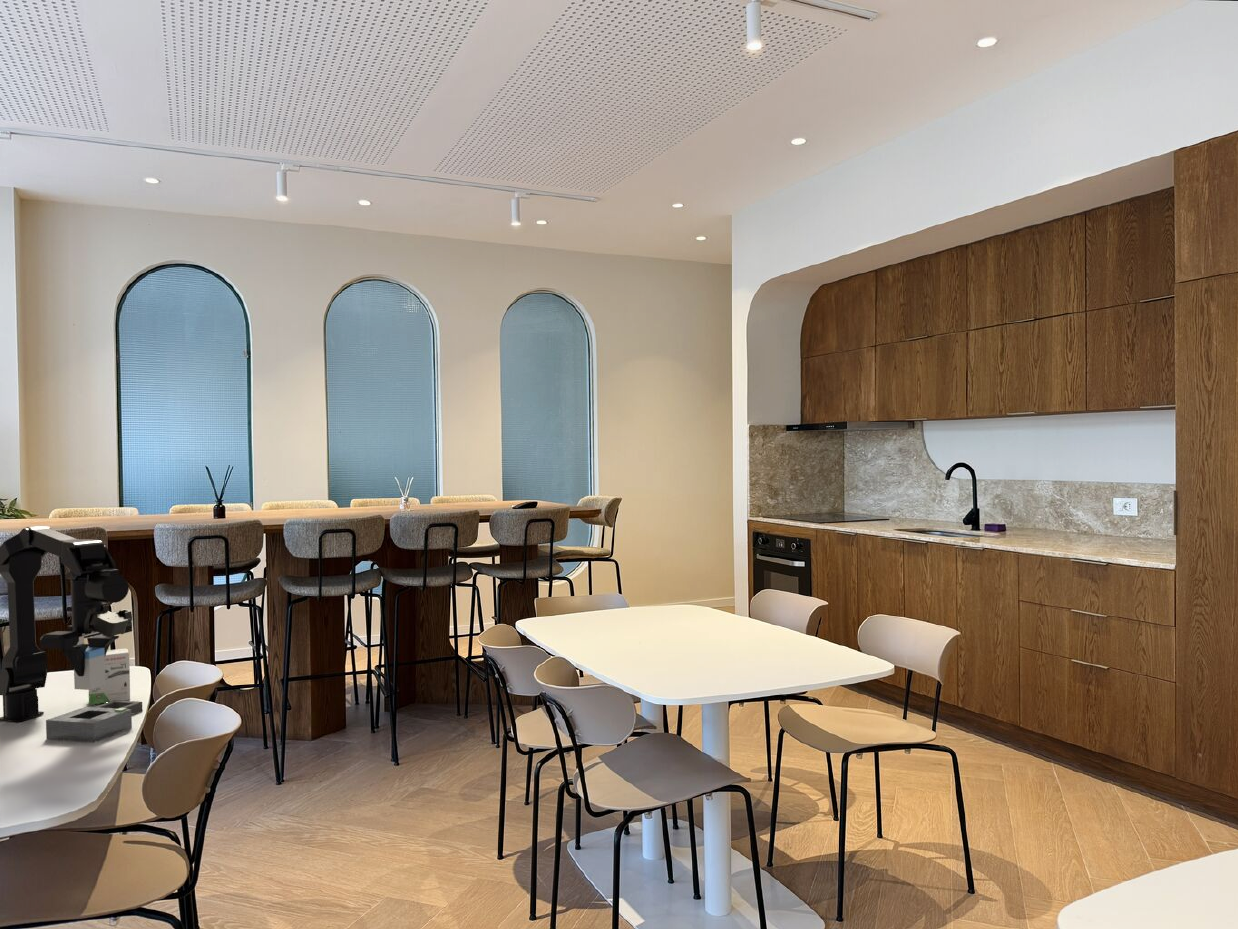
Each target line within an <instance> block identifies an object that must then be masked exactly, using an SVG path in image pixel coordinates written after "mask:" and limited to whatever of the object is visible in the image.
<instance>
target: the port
mask: <svg viewBox="0 0 1238 929" xmlns="http://www.w3.org/2000/svg"><path fill="white" fill-rule="evenodd" d="M132 715H133V714H131V709H127V708H119V709H117V708H99V707H96V706H84V707H81V708H77V709H75V710H72V711H68V712H66V713H64V714H60V715H58V716H54V717H52V718H48V719H46V720H45V730H46V733H45V734H46V740H51V741H66V742H67V741H68V742H77V743H78V742H80V743H92V744H93V743H96V742H99V741H103V740H104V739H106V738H109V737H112V736H115V735H116V734H117V735H118V734H120V733H122V732H125V731H127V730H130V729H132V728H133V722H132Z"/></svg>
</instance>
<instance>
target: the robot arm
mask: <svg viewBox="0 0 1238 929" xmlns="http://www.w3.org/2000/svg"><path fill="white" fill-rule="evenodd" d="M48 553H49V554H51V555H54V556H57V557H59V558H60V564H63V566H65V567H67V569H69V570H70V571H69V572H67V573H66V575H65V577H64V578H65V579H67V580H70V600H71V602H70V605H68V606H66V612H70V613H71V625H67V627H66V629H67V630H63V631H62V630H60V631H59V630H58V631H57V630H56V631H52V632H48V633H45V634H43V635H42V636H40V639H39V644H40V646H38V645H37V634H36V632H37V631H36V616H35V615H36V614H35V590H34V581H35V579H36V578H37V576H38V574H39V573H40V571H41V569H42V562H43V558H44V557H45V556H46V555H47V554H48ZM0 576H1V577H2V578H3V580H4V581H5V582H6V584H7V604H8V605H7V606H8V609H7V610H8V623H9V624H8V627H9V628H8V632H9V648H8V649H7V652H6V653H5V654H4V656H3V657H2V660H1V670H0V696H2V710H3V712H2V716H0V722H13V723H14V722H15V723H21V722H24V721H26V720H30V719H32V718H36V717H39V716H42V715H44V714H45V712H44V711H39V696H38V689H41V688H45V686H46V683H47V682H46V681H47V677H48V671H49V667H48V663H47V659H48V658H47V657H48V654H47V653H46V651H42V650H41V649H50V650H51V649H52V650H53V649H54V650H60V651H61V653H62V654H63V655H64V656H65V657H66V659H67V661H68V662H69V663H70V665H71V667H72V669H73V671H74V670H75V672H76V673H77V675H78V676H84V670H85V650H86V649H87V648H88V647H100V648H104V651H105V656H106V653H107V650H109V647H110V645H111V644H112V643H114V642H115V641H116V640H117V639H119V638H120V635H124V634H126V633H127V634H128V633H131V632H133V623H132V621H133V614H132V610H130V609H128V608H125V609H121V610H119V611H118V612H117V611H115V612H112V611H110V608H109V607H110V606H109V604H108V603H110V604H111V603H114V604H115V603H119V602H121V601H123V600H124V599H125V598H126V597H127V595H128V594H129V591H130V589H129V588H130V585H129V583H128V580H127V579H126V578H125V577H124V576H122V575H120V570H119V569H117V566H116V562H115V561H114V559H113V557H112V556H111V554H110V552H109V549H108V548H107V546H106V545H105V543H104V542H103V541H102V540H99V539H93V538H92V539H91V538H90V539H88V538H87V539H80V538H75V537H73V536H70V535H67V534H64V533H62V532H59V531H57V530H54V529H52V528H51V527H50V526H46V525H36V526H26V527H24V528H22V529H21V530H20V531H19V532H18V533H17V534H16V535H13V536H12V537H10V538H8V539H7V540H5V541H3V543H2V544H1V545H0ZM85 639H87V643H85ZM39 647H40V648H39Z"/></svg>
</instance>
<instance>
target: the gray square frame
mask: <svg viewBox="0 0 1238 929" xmlns="http://www.w3.org/2000/svg"><path fill="white" fill-rule="evenodd" d="M95 707H99V708H117V709H119V708H127V709H131V714H132V715H134V714H137V713H140V712H142V711H143V701H138V700H137V701H135V700H125V701H118V700H114V701H111V702H108V703H104V704H98V705H97V706H96V705H95Z"/></svg>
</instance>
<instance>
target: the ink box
mask: <svg viewBox="0 0 1238 929" xmlns="http://www.w3.org/2000/svg"><path fill="white" fill-rule="evenodd" d="M130 673H131V670H130V651H129V649H128V648H117V649H108V650H107V653H106V656H105V681H106V685H104V686H101V687H98V688H95V689H92V690H88V703H89V705H90V706H96V705H95V704H97V705H101V704H100V703H104V704H105V703H106V702H111V701H114V700H118V701H124V700H125V701H131V676H130Z"/></svg>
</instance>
